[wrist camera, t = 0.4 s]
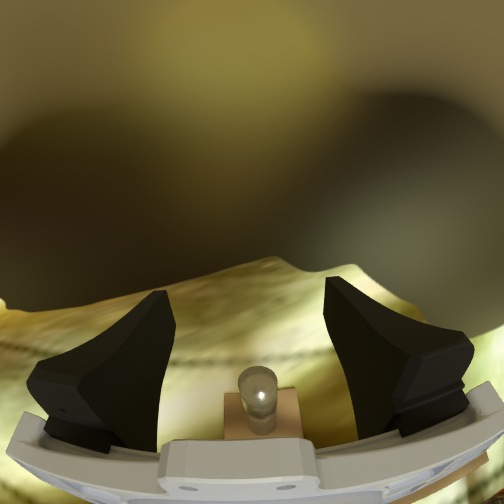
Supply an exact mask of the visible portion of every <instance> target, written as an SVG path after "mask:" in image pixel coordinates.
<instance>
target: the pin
mask: <svg viewBox="0 0 504 504" xmlns="http://www.w3.org/2000/svg"><path fill="white" fill-rule="evenodd" d="M238 387H239V391H240V395H241V399H242V403H243V407H244V411H245V415H246V419H247V423H248V426H249V429H250V430H251V431H252V432H253V433H255V434H257V435H268V434H270V433H271V432H273V431H274V430H275V428H276V426H277V377H276V375H275V373H274V372H273V371H272V370H270V369H269V368H266V367H263V366H254V367H250V368H248V369H246V370H245V371H243V372H242V374H241V375H240V377H239V379H238Z"/></svg>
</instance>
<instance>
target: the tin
mask: <svg viewBox="0 0 504 504" xmlns="http://www.w3.org/2000/svg"><path fill="white" fill-rule="evenodd" d="M482 504H504V489H502V490H500V491H499V492H497V493H496V494H495V495H493V496H492V497H491V498H489V499H487V500H486V501H485V502H483V503H482Z"/></svg>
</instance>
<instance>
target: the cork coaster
mask: <svg viewBox="0 0 504 504" xmlns="http://www.w3.org/2000/svg"><path fill="white" fill-rule="evenodd" d="M277 436H280V437H286V436H296V437H299V438H303V439H304V437H303V431H302V424H301V417H300V411H299V404H298V398H297V391H296V388H291V389H282V390H277V426H276V428H275V430H274V431H273V432H271V433H270V434H268V435H257V434H255V433H253V432H252V431H251V430H250V429H249V426H248V423H247V419H246V415H245V411H244V407H243V403H242V399H241V395H240V393H224V439H251V438H266V437H277Z"/></svg>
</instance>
